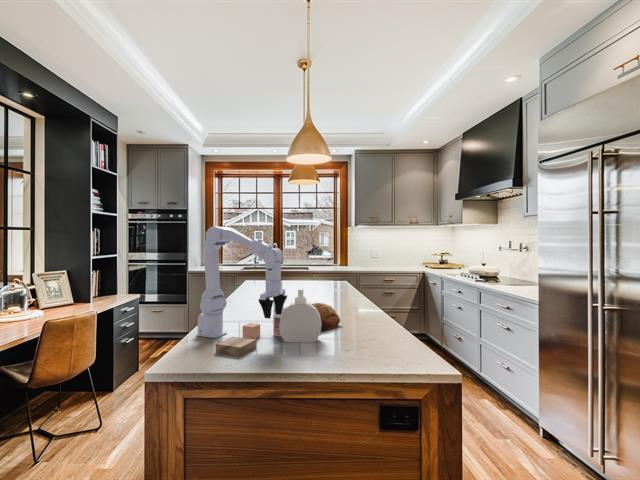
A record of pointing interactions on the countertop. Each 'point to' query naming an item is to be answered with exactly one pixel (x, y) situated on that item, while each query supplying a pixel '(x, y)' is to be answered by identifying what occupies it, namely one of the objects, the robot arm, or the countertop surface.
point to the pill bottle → (277, 322)
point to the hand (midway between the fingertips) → (273, 316)
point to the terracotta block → (251, 331)
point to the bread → (327, 316)
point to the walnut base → (236, 346)
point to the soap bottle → (300, 321)
